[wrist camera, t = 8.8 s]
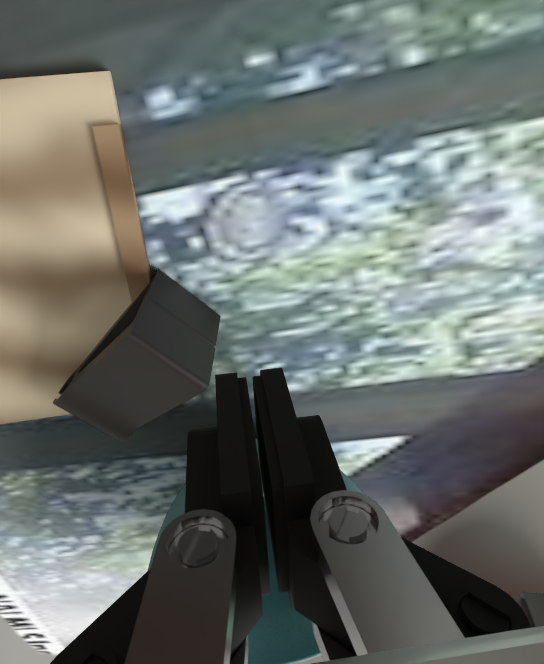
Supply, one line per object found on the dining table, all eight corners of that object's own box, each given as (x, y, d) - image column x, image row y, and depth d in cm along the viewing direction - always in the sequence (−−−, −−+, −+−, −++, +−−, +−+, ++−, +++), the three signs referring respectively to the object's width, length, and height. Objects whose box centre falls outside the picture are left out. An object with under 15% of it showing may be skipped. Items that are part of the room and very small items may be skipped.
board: (-163, 93, 28) (-177, 92, 27) (110, 71, 30) (107, 70, 29) (-23, 422, 39) (-30, 431, 37) (174, 394, 40) (174, 401, 39)
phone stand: (220, 313, 38) (134, 398, 42) (158, 267, 35) (75, 361, 40) (209, 387, 30) (106, 479, 35) (129, 333, 28) (30, 440, 32)
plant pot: (119, 499, 44) (92, 628, 33) (236, 355, 39) (251, 449, 28) (271, 566, 50) (291, 692, 39) (386, 449, 46) (446, 555, 35)
